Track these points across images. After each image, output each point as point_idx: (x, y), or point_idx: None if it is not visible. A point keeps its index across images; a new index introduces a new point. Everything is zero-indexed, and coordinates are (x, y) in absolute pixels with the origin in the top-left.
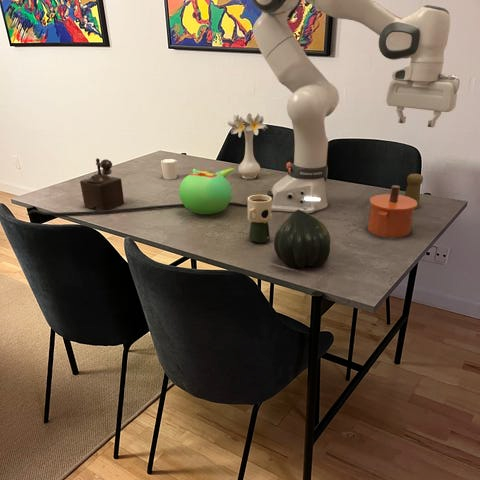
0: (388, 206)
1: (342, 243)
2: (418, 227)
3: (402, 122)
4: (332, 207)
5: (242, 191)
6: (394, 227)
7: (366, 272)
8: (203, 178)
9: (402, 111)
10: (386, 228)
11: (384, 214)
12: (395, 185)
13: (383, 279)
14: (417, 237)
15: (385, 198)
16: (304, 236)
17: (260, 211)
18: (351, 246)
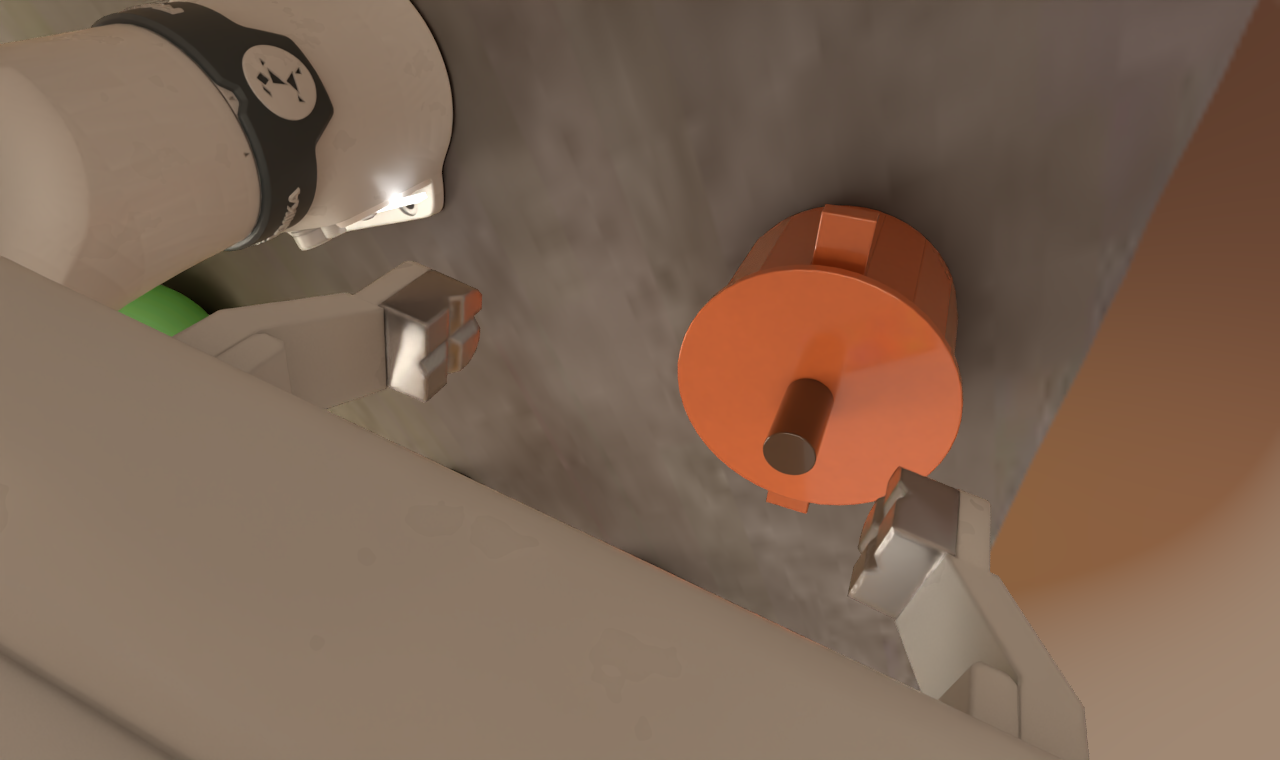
0: (799, 479)
1: (690, 471)
2: (1012, 196)
3: (468, 362)
4: (474, 63)
5: (59, 28)
6: None
7: (828, 642)
8: None
9: (291, 321)
10: None
11: (798, 510)
12: (783, 438)
13: (888, 675)
14: (1005, 344)
15: (755, 364)
16: None
17: None
18: (729, 489)
